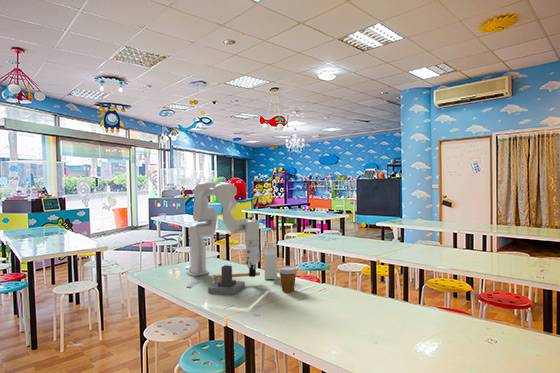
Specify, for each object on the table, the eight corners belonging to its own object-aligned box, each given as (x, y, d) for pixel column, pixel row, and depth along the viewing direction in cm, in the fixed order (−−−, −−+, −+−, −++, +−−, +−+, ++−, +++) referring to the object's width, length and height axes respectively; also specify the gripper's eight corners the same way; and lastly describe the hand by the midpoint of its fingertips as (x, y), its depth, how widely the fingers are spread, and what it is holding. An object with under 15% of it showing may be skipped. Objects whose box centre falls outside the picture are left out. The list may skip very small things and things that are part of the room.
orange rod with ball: (211, 279, 172) (211, 276, 172) (211, 277, 175) (211, 275, 175) (260, 275, 178) (260, 272, 178) (259, 274, 181) (259, 271, 181)
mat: (186, 287, 177) (186, 286, 177) (200, 280, 190) (200, 279, 190) (209, 289, 173) (209, 288, 173) (221, 282, 186) (221, 281, 186)
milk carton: (276, 279, 190) (276, 247, 189) (264, 279, 190) (264, 247, 190) (277, 276, 197) (276, 245, 197) (265, 276, 197) (265, 245, 197)
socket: (203, 294, 165) (202, 284, 165) (216, 286, 178) (216, 276, 178) (233, 298, 160) (233, 286, 160) (244, 289, 173) (244, 278, 173)
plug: (217, 291, 166) (217, 267, 166) (224, 287, 173) (223, 264, 173) (230, 292, 164) (229, 268, 164) (235, 288, 171) (235, 265, 171)
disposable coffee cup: (297, 287, 175) (297, 265, 174) (296, 293, 165) (296, 270, 165) (280, 287, 175) (279, 265, 175) (278, 293, 166) (277, 270, 166)
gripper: (253, 245, 168) (253, 280, 168) (263, 240, 182) (263, 273, 182) (240, 245, 170) (240, 279, 170) (251, 240, 184) (251, 272, 184)
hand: (252, 276), depth 176 cm, fingers closed
